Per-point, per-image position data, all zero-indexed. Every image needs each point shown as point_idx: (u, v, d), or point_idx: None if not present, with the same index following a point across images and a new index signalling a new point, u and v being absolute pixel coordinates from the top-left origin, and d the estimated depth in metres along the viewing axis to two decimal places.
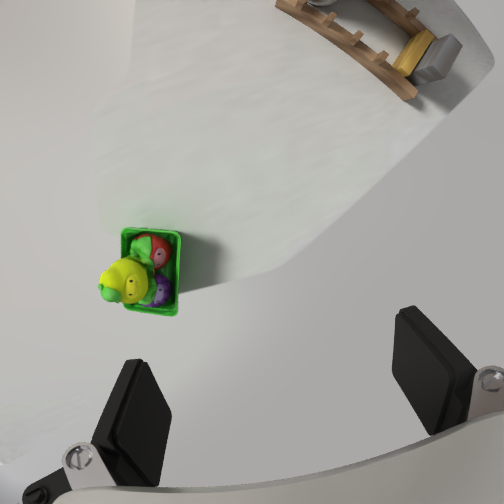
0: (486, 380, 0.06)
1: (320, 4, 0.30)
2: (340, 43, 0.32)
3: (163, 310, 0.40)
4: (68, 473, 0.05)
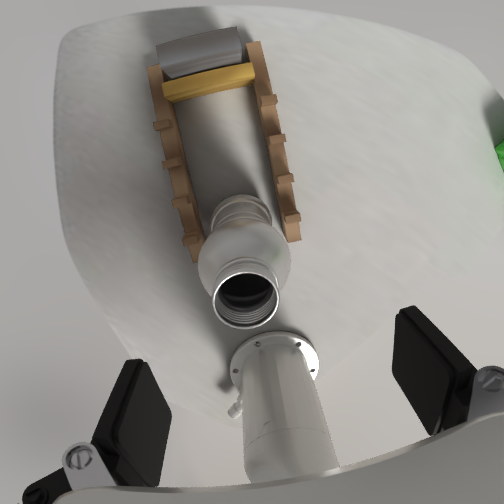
0: (486, 380, 0.06)
1: None
2: None
3: None
4: (68, 473, 0.05)
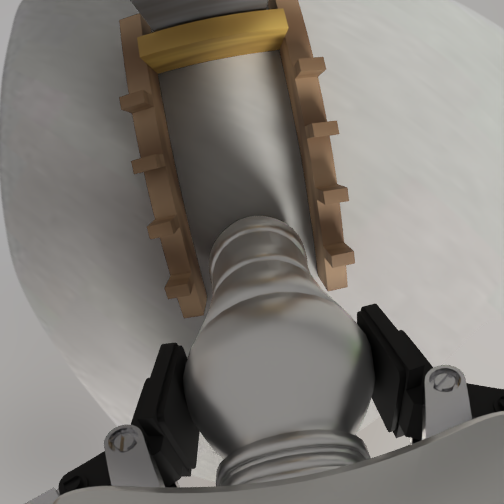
0: (438, 380, 0.07)
1: None
2: None
3: None
4: (112, 456, 0.06)
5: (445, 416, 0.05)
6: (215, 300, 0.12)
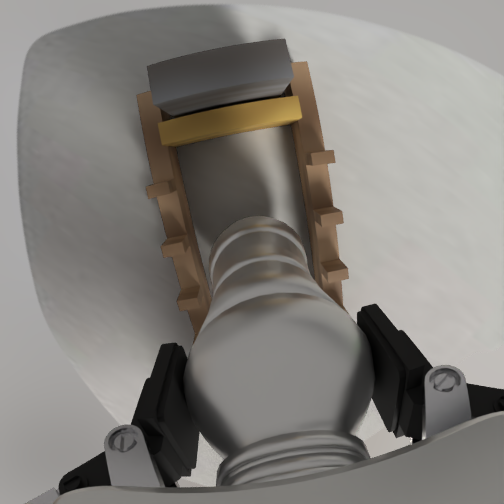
0: (438, 380, 0.07)
1: None
2: None
3: None
4: (112, 456, 0.06)
5: (445, 416, 0.05)
6: (215, 300, 0.12)
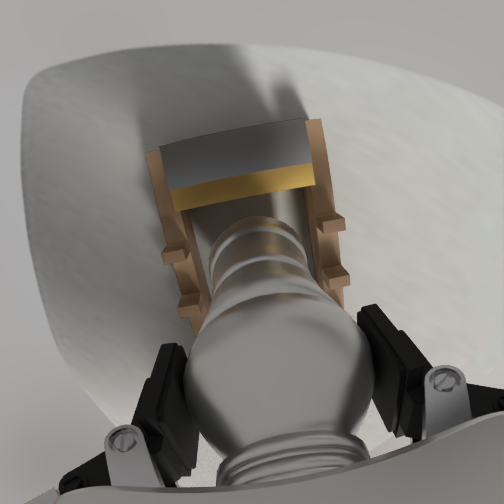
0: (438, 380, 0.07)
1: None
2: None
3: None
4: (112, 456, 0.06)
5: (445, 416, 0.05)
6: (215, 300, 0.12)
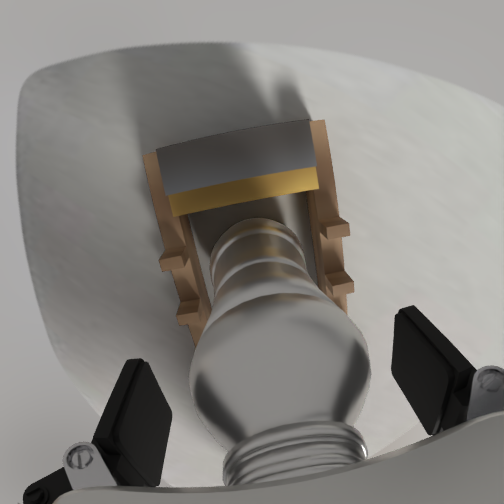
0: (485, 380, 0.06)
1: None
2: None
3: None
4: (69, 473, 0.05)
5: None
6: (218, 301, 0.13)
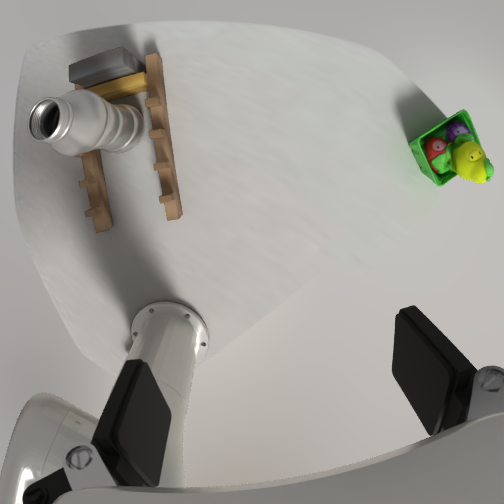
0: (486, 380, 0.06)
1: None
2: (169, 140, 0.37)
3: (466, 121, 0.34)
4: (68, 473, 0.05)
5: None
6: None
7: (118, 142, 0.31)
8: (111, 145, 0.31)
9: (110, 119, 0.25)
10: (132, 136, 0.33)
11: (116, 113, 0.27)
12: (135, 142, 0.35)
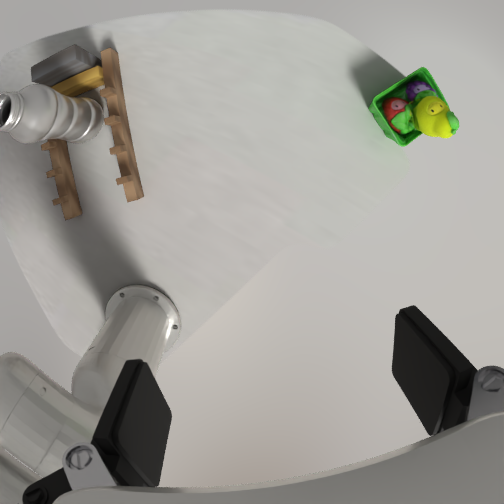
0: (486, 380, 0.06)
1: None
2: (126, 126, 0.37)
3: (428, 79, 0.33)
4: (68, 473, 0.05)
5: None
6: None
7: (76, 131, 0.31)
8: (69, 134, 0.30)
9: (61, 108, 0.25)
10: (90, 125, 0.33)
11: (70, 103, 0.27)
12: (94, 131, 0.35)
